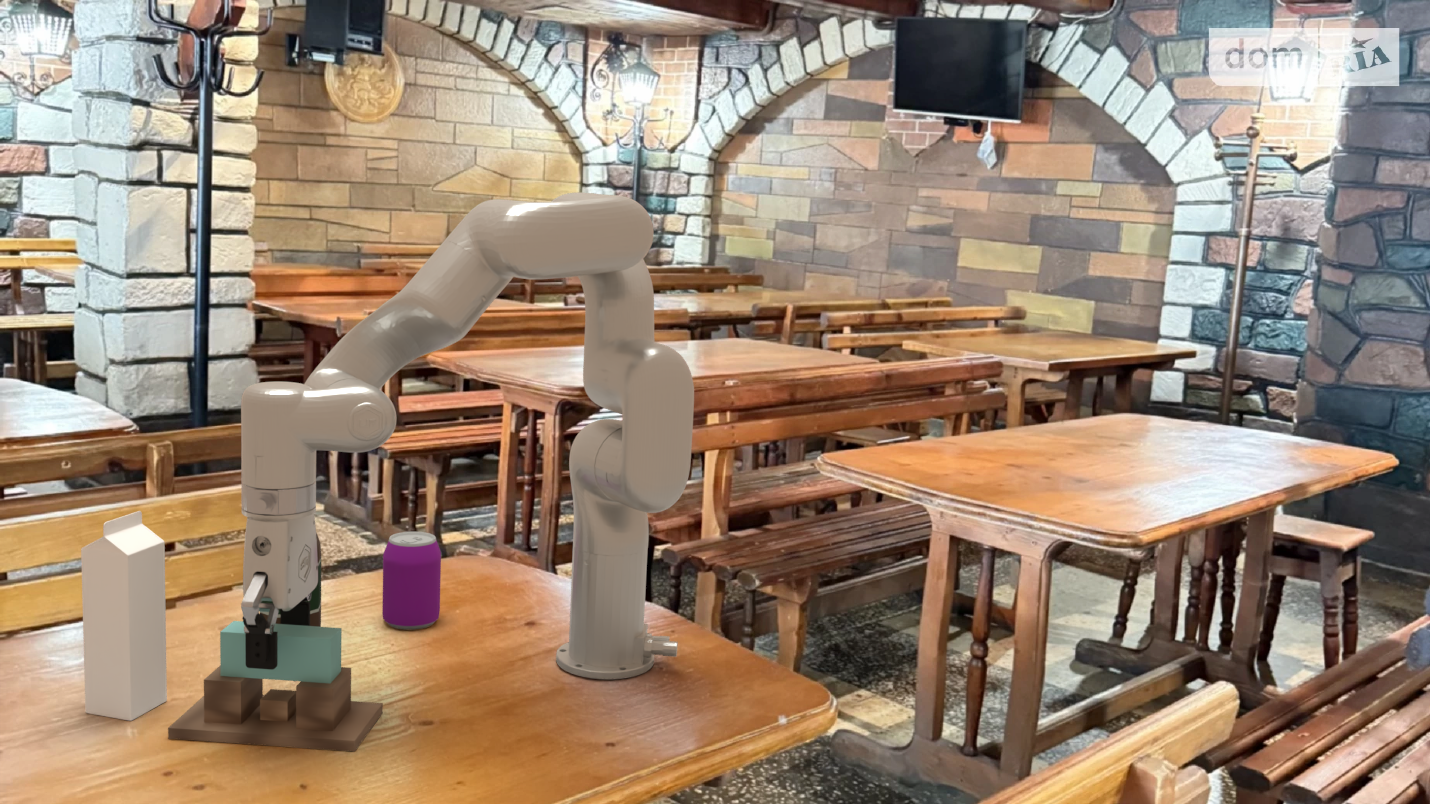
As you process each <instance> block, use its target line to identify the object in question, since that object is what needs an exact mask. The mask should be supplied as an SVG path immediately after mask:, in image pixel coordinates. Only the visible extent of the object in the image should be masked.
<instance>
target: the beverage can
mask: <svg viewBox="0 0 1430 804" xmlns="http://www.w3.org/2000/svg"><path fill="white" fill-rule="evenodd" d="M441 561H442V551H441V548H440V545H439V543H438V541H437V537H436V536H435V534H432V533H430V532H425V531H403V532H402V531H401V532H396V533H394V534H392V535H389V538H388V541H387V544H386V547H385V548H384V551H383V554H382V607H381V608H382V610H381V611H382V612H381V613H382V619H383V620H384V622H386V623H387V624H388V625H389V626H390V627H392V628H394V629H398V630H405V631H406V630H408V631H409V630H410V631H411V630H412V631H413V630H415V631H416V630H422V629H427V628H428V627H430V626H432V625H433V624H434V623H435V622H436V621H437V620H439V618H440V610H441V574H442V573H441V572H442V571H441V568H442V566H441V565H442V563H441Z"/></svg>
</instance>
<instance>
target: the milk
mask: <svg viewBox="0 0 1430 804" xmlns="http://www.w3.org/2000/svg"><path fill="white" fill-rule="evenodd" d="M102 530H103V531H102V533H103V535H102V537H100V538H98V539H95V540H94V541H93V542H90V543H88V544H86V545H85V546H82V547H81V549H80V557H81V560H80V561H81V562H80V563H81V591H82V592H81V596H82V597H81V599H82V626H83V627H82V630H83V631H82V633H83V637H82V638H83V666H84V669H83V670H84V671H83V672H84V709H85V713H86V714H90V715H96V716H102V717H106V718H114V719H117V720H118V719H119V720H124V721H129V722H132V721H134V720H135V719H137V718H139V717H141V716H143V715H145V714H146V713H148V712H150V711H151V710H153V709H155V708H157V707H158V706H160V705H162V704H163V703H165V702H168V701H167V700H168V694H167V693H168V689H167V688H168V687H167V686H168V685H167V684H168V683H167V681H168V680H167V678H168V677H167V624H166V623H167V622H166V621H167V617H166V615H167V614H166V611H167V610H166V562H165V561H166V559H165V558H166V556H165V553H166V551H165V549H166V547H165V544H166V543H165V540H164V539H162V537H160V536H158V535H157V534H156V533H154V531H152V530H151V529H150V528H148V527H147V526H146V525H145V524H143V514H142V511H141V510H138V511H135V512H132V513H129V514H126V515H123V516H120V517H116V518H114V519H111V520H107V521H105V522H104V523H103V528H102Z"/></svg>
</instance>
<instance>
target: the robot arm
mask: <svg viewBox="0 0 1430 804" xmlns="http://www.w3.org/2000/svg"><path fill="white" fill-rule="evenodd" d="M653 241H654V224H653V222H652V218H651V216H650V215H649V213H648V211H647V209H645V207H644V206H643V205H641V203H639V202H638V201H636V200H634V199H633V198H631V197H628V196H624V195H617V194H605V193H604V194H603V193H601V194H600V193H595V192H580V191H579V192H578V191H577V192H569V193H564V194H561V195H559V196H557V197H556V198H554V199H552V200H551V201H526V200H514V199H513V200H512V199H500V198H499V199H498V198H497V199H487V200H485V201H482V202H480V203H478V204H477V205H476V206H474V207H473V208H472V209H471V210H470V211H468V212H467V214H466V215H465V216H464V217H463V219H462V220H461V221H460V222H459V223H457V225H456V227H455V228H454V229H453V230H452V231H451V232H450V233H449V234H448V236H447V237H446V238H445V239H444V240H443V241H442V243H441V244H440V245H439V246H438V247H437V249H436V250H435V251H434V252H433V253H432V254H431V256H430V257H429V258H428V260H426V261H425V263H424V264H423V265H422V266H421V268H419V270H418V271H417V272H416V274H414V276H413V277H412V278H411V279H410V280H409V282H408V283H407V284H406V285H405V286H404V287H403V288H402V289H401V290H400V291H399V292H398V293H396V294H395V295H394V296H392V298H390V299H388V300H387V301H385V302H384V303H383V304H381V305H380V306H379V307H378V308H377V309H375V310H373V312H371V313H370V314H368V316H366V317H365V318H364V319H362V320H361V321H359V322H358V323H357V324H356V325H355V326H353V327H352V328H351V329H350V330H349V331H348V332H346V334H345V335H344V336H343V337H341V339H339V341H337V342H336V344H335V345H334V346H333V347H332V348H331V349H330V351H329V352H328V353H327V354H326V356H325V357H324V358H323V359H322V360H321V361H320V363H319V364H318V365H317V366H316V367H315V368H314V370H313V371H312V372H311V373H310V375H309V376H308V377H307V379H306V380H305V382H304V383H301V382H300V383H299V382H293V381H265V382H263V381H262V382H257V383H253V384H251V385H249V386H247V387H246V388H245V389H244V391H243V393H242V395H241V404H240V418H241V419H240V423H241V425H240V426H241V427H240V429H241V435H240V436H241V437H240V438H241V444H240V445H241V453H240V454H241V455H240V458H241V467H240V468H241V470H240V471H241V472H240V473H241V476H240V477H241V480H240V481H241V482H240V483H241V486H240V487H241V514H242V515H243V516H244V517H246V523H245V525H246V526H245V535H244V545H243V546H244V549H243V565H242V566H243V567H242V568H243V569H242V590H243V591H242V594H243V599H242V600H241V603H240V605H241V606H240V608H241V613H242V618H241V619H242V621H243V623H244V632H245V652H246V667H248V668H256V669H270V670H273V669H275V668H276V667H277V665H278V632H273V631H274V627H275V624H276V620H277V616H278V612H279V609H280V624H287V625H302V626H310V602H305V601H310V599H311V592H312V591H313V590H314V589H315V587H316V586H317V583H318V558H317V537H316V533H317V524H316V519H315V513H316V512H317V451H324V452H325V451H329V452H339V453H341V452H342V453H365V452H370V451H372V450H375V449H377V448H380V447H381V446H383V445H384V444H385V443H386V442H387V441H388V440H389V439H390V438H392V435H393V434H394V432H395V429H396V427H397V412H396V408H395V405H394V403H393V402H392V400H391V398H390V397H389V396H388V395H387V394H386V393H384V392H383V390H381V389H382V388H383V386H384V385H385V384H386V383H388V381H389V380H390V379H391V378H392V377H393V376H394V375H395V374H396V373H397V372H398V371H400V370H401V369H403V368H404V367H405V366H406V365H408V364H410V363H411V362H412V361H414V360H417V358H420V357H423V356H425V355H428V354H430V353H433V352H436V351H440V350H443V349H445V348H447V347H449V346H451V345H454V344H455V343H457V342H459V341H460V340H462V339H463V338H464V337H465V336H467V334H468V332H470V330H471V329H472V328H473V326H474V325H475V324H476V323H477V321H478V320H479V319H480V318H481V317H482V315H483V314H484V313H485V312H486V311H487V309H488V308H490V305H492V303H493V302H494V301H495V299H496V298H497V297H498V296H499V294H501V292H502V291H503V290H504V289H505V288H506V287H507V286H508V284H509V283H510V282H511V281H512V279H513V278H517V279H522V280H523V279H525V280H548V279H549V280H551V279H562V278H572V277H577V278H578V279H579V281H580V284H581V287H582V291H583V296H584V297H583V298H584V312H585V316H584V317H585V319H584V322H585V324H584V339H583V340H584V342H583V343H584V346H583V365H582V366H583V367H582V378H583V379H582V381H583V387H584V391H585V393H586V395H587V397H588V399H590V400H591V401H592V402H593V403H594V404H596V405H597V406H599V407H601V408H604V409H605V410H608V411H611V412H612V413H613V412H614V413H617V414H620V415H622V420H620V419H615V418H614V419H613V418H603V419H597V420H594V421H592V422H591V423H588V424H587V425H586V426H584V427H583V428H582V429H581V430H580V431H579V432H578V433H577V435H576V436H575V437H574V439H573V441H572V444H571V446H570V450H569V459H568V460H569V461H568V464H569V465H568V467H569V468H568V469H569V477H570V485H571V493H572V501H573V502H572V503H573V535H572V536H573V538H572V541H573V542H572V559H571V584H570V585H571V587H570V604H569V605H570V609H569V610H570V611H569V632H568V635H569V637H568V641H567V642H566V643H563V644H562V645H561V646H559V647H558V648H557V650H556V652H555V662H556V663H557V666H559V668H561V669H562V670H563V671H565V672H566V673H569V674H572V675H574V676H579V677H583V678H588V679H595V680H620V679H627V678H633V677H637V676H640V675H643V674H644V673H647V672H648V671H650V670H651V668H653V666H654V663H655V655H660V656H662V657H674V658H677V656H678V641H674V640H673V641H671V640H670V636H668V635H652V634H653V633H652V632H651V633H650V632H649V633H648V628H649V627H648V625H649V624H648V623H645V610H646V609H645V608H646V589H647V587H646V586H647V571H648V570H647V567H648V566H647V565H648V548H649V533H650V532H649V531H650V530H649V518H648V517H649V516H648V513H649V514H655V513H661V512H663V511H665V510H668V509H670V508H671V507H672V506H673V505H675V504H676V503H677V502H678V500H679V499H680V498H681V497H682V494H683V493H684V491H685V488H686V487H687V484H688V479H689V476H690V471H691V462H692V461H691V459H692V448H693V447H692V446H693V427H694V411H695V410H694V406H695V387H694V379H693V375H692V372H691V369H690V367H689V365H688V363H687V361H686V360H685V359H684V357H683V356H682V355H681V354H680V352H678V351H676V350H675V349H674V348H672V347H670V346H668V345H665V344H662V343H658V342H656V340H655V295H654V285H653V281H652V278H651V274H650V272H649V268H648V265H647V263H646V262H645V259H644V258H645V257H646V256H647V254H648V253H649V251H650V250H651V247H652V245H653ZM262 601H273V603H261V602H262ZM260 612H269V615H268V619H267V621H266V619H265V618H264V616H263V614H260Z"/></svg>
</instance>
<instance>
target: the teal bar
mask: <svg viewBox="0 0 1430 804" xmlns="http://www.w3.org/2000/svg"><path fill="white" fill-rule="evenodd" d="M219 632H220V633H219V635H220V636H219V637H220V638H219V641H220V642H219V647H220V648H219V651H220V663H219V666H220V669H221V676H229V677H244V678H258V679H263V680H274V681H275V680H276V681H289V682H316V683H331V682H332V681H333V680H334V679H335V678H336V677H337V676H338V674H339V673H340V672H341V667H342V632H343V631H342V627H331V626H330V627H328V626H321V627H317V626H302V625H287V624H275V627H274V631H273V632H278V665H277V667H276V668H275V669H273V670H270V669H256V668H248V667H246V652H245V632H244V623H243V620H242V621H241V620H233V621H232V622H230V623H229V624H228V625H227V626H226V627H224V628H223V629H222V630H221V631H219Z"/></svg>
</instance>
